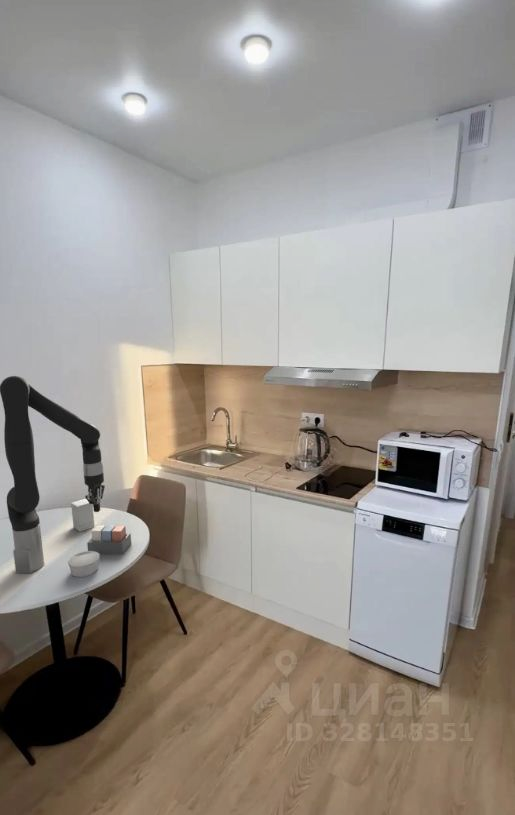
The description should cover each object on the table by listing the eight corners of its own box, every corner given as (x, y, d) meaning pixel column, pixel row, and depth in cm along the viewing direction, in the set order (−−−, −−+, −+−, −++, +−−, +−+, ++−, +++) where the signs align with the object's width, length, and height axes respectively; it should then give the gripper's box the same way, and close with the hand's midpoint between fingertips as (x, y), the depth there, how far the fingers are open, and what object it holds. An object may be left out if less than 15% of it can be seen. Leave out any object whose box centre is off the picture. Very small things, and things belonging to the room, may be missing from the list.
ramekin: (95, 559, 159) (94, 547, 158) (104, 571, 150) (103, 559, 149) (66, 569, 152) (64, 557, 151) (73, 583, 143) (72, 569, 142)
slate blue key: (111, 542, 164) (110, 531, 163) (102, 542, 164) (101, 530, 163) (116, 536, 169) (115, 525, 168) (107, 536, 169) (106, 525, 168)
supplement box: (95, 526, 187) (92, 501, 185) (79, 532, 182) (77, 506, 180) (88, 522, 192) (86, 497, 190) (72, 527, 187) (70, 502, 185)
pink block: (121, 542, 163) (120, 531, 162) (112, 542, 164) (111, 531, 163) (126, 536, 168) (125, 525, 167) (117, 536, 168) (116, 525, 168)
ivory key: (101, 542, 164) (100, 530, 163) (92, 541, 164) (91, 530, 163) (106, 536, 169) (105, 525, 168) (97, 536, 169) (97, 525, 168)
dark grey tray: (123, 554, 162) (122, 543, 161) (88, 553, 163) (87, 542, 162) (131, 543, 171) (130, 532, 170) (98, 542, 172) (97, 532, 171)
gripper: (94, 477, 155) (98, 518, 158) (109, 467, 168) (112, 504, 171) (76, 477, 155) (80, 518, 158) (92, 466, 168) (95, 504, 171)
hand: (97, 511), depth 165 cm, fingers closed
